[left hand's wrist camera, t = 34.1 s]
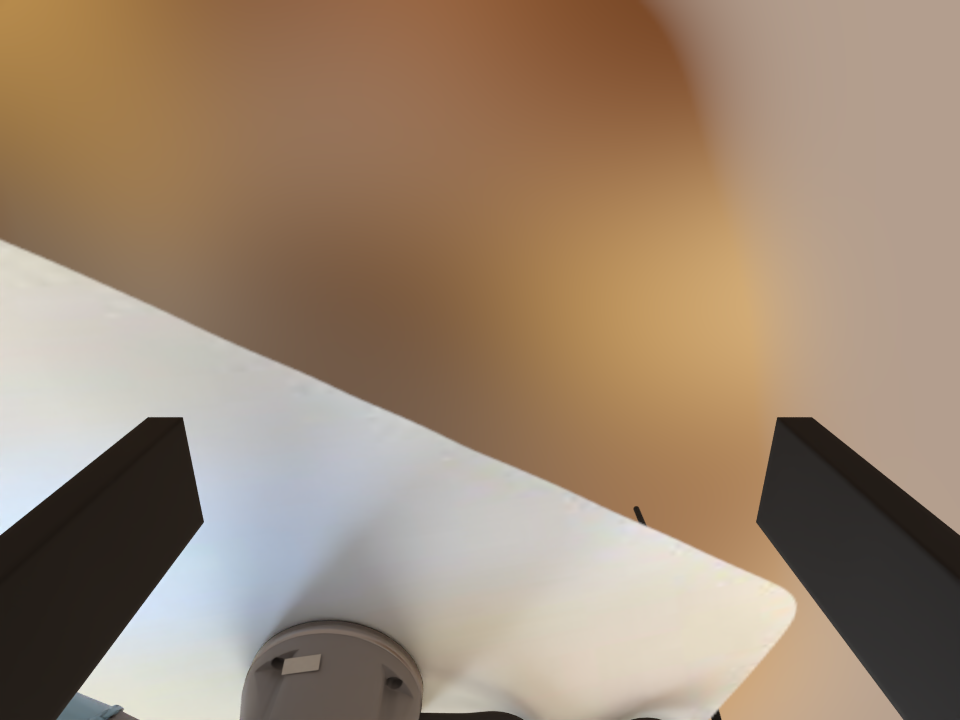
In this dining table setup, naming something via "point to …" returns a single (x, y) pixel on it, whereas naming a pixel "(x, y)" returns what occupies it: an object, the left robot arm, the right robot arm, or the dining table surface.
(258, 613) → the dining table surface
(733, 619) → the dining table surface
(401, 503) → the dining table surface
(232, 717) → the dining table surface
